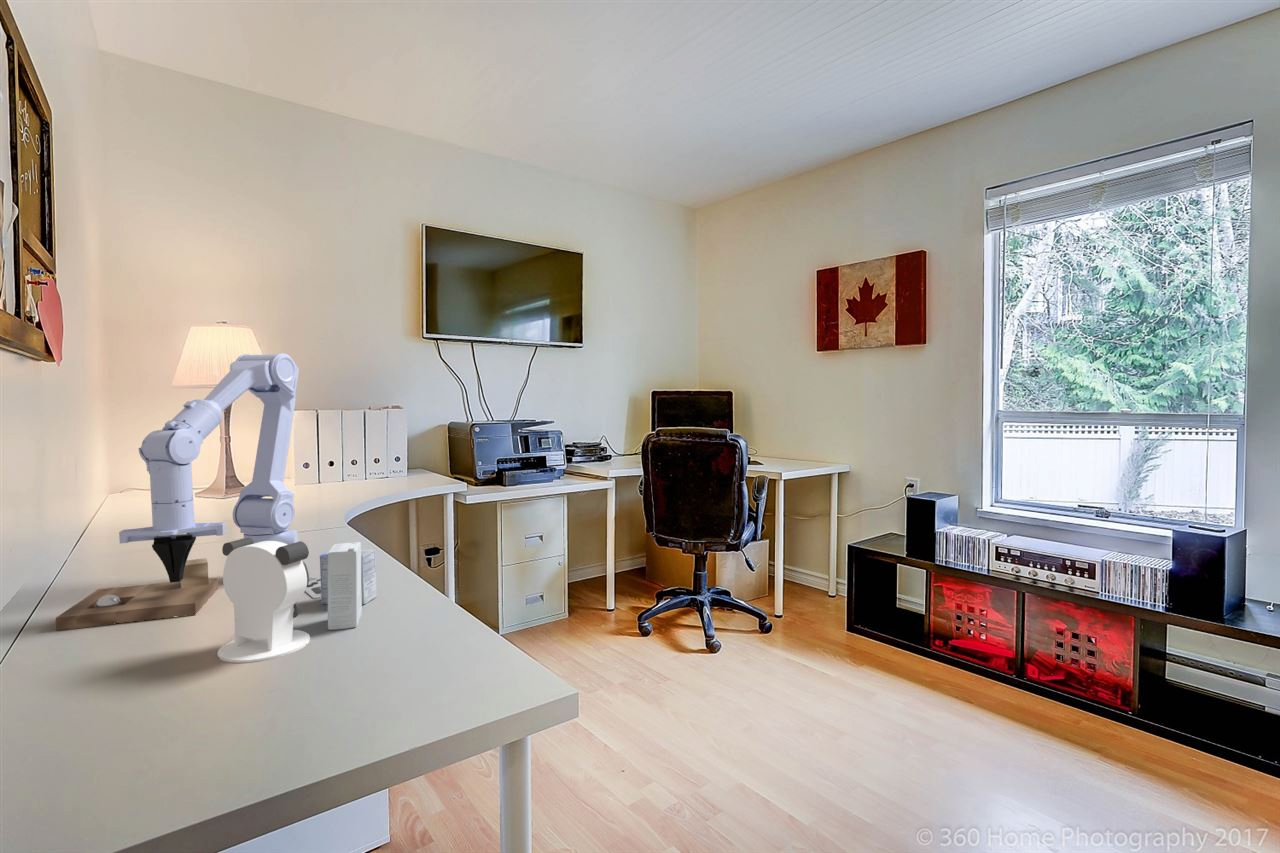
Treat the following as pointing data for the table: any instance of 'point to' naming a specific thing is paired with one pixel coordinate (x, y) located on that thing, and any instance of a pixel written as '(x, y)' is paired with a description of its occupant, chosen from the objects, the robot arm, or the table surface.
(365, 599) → the medicine box
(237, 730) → the table surface
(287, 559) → the white rounded upright piece
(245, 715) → the table surface
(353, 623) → the skincare box
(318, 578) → the handheld gaming device
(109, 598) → the ball
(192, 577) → the pale gold metal block
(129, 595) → the board
